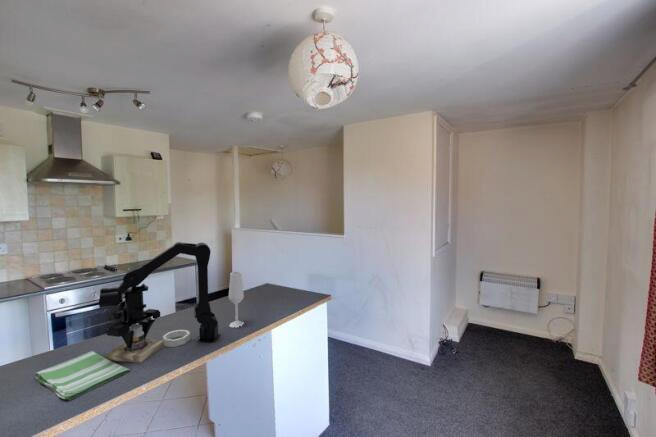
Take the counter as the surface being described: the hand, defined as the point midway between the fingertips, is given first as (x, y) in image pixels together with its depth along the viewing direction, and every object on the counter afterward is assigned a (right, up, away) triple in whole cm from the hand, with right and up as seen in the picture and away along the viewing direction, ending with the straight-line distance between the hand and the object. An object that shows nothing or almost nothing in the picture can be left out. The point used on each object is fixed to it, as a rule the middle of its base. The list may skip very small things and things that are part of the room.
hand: (136, 343), depth 115 cm
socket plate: (0, -3, 0) cm, 3 cm away
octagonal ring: (+10, -3, +10) cm, 14 cm away
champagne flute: (+30, -2, +26) cm, 40 cm away
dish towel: (-9, -5, -14) cm, 18 cm away
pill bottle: (0, -4, 0) cm, 4 cm away
